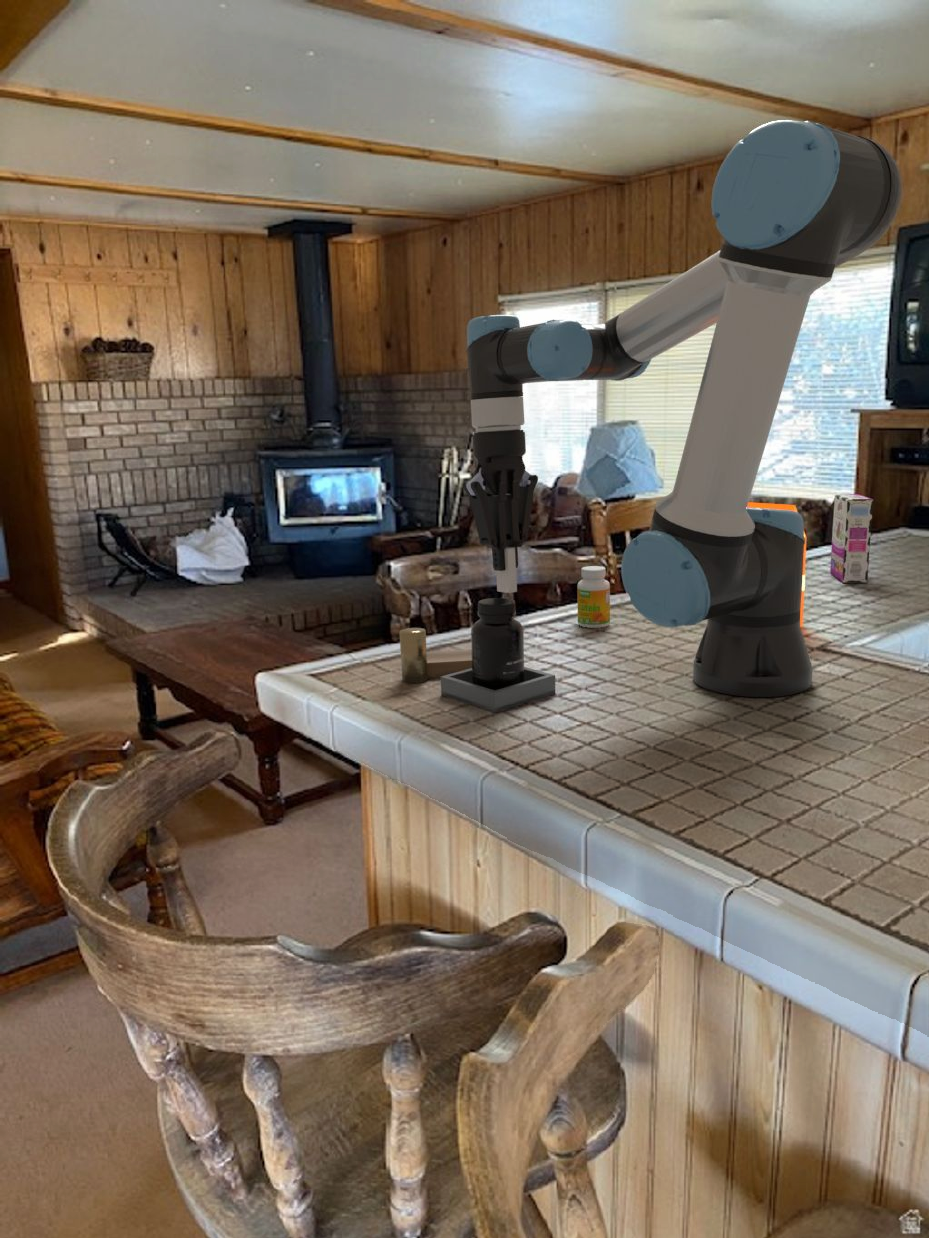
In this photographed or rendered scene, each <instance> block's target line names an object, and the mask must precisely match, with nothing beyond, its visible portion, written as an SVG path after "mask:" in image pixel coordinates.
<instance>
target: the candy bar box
mask: <svg viewBox="0 0 929 1238" xmlns="http://www.w3.org/2000/svg"><path fill="white" fill-rule="evenodd" d="M833 504H834V505H833V517H832V518H833V519H832V536H831V537H832V538H831V549H830V550H831V552H830V567H829V568H830V569H829V570H830V572H829V574H830V575H832V577H834V578H836V579H837V580H838V581H840V582H841V583H843V584H867V583H868V581H869V580H868V579H869V565H870V564H869V563H870V551H871V538H872V537H871V536H872V524H873V523H872V521H873V509H874V499H873V498H870V497H867V496H864V495H861V494H858V493H857V494H855V493H845V494H844V493H842V494H841V493H840V494H839V493H838V494H837V493H836V494H834V501H833Z"/></svg>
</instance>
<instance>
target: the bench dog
mask: <svg viewBox="0 0 929 1238" xmlns="http://www.w3.org/2000/svg"><path fill="white" fill-rule="evenodd" d="M426 633H427V632H426V629H425V628H421V627H407V628H404V629H401V630H399V647H400V664H401V681H402V682H403V683H405V684H420V683H425V682H427V681H428V680H429V677H428V669H427V652H428V651H427V634H426Z"/></svg>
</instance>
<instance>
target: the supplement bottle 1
mask: <svg viewBox="0 0 929 1238" xmlns="http://www.w3.org/2000/svg"><path fill="white" fill-rule="evenodd" d="M477 602H478V603H477V616H478V617H479V619H478V620H477V621H475V622H474V623H473V625H472V626H471V630H470V642H471V643H470V644H471V645H470V646H471V647H470V648H471V649H470V650H472V684H475V685H478V686H482V687H485V688H488V689H491V690H499V689H502V688H505V687H509V686H512V685H515V684H519V683H522V682H524V667H525V640H524V634H525V633H524V626H523V625H522V623H521V622H520V621H519V620H517V619H515V616H517V610H516V600H514V599H511V598H508V597H507V598H506V597H505V598H504V597H495V598H494V597H491V598H485V599H481V600H479V601H477Z"/></svg>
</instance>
